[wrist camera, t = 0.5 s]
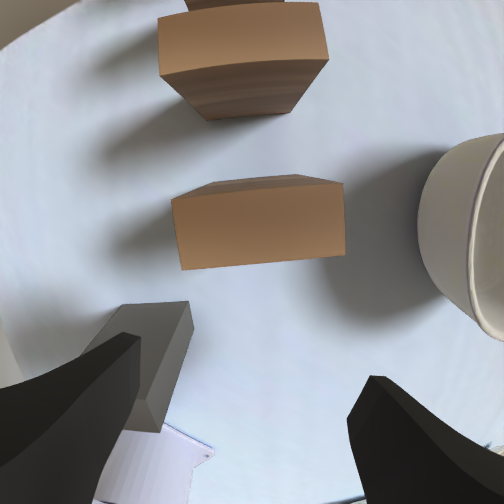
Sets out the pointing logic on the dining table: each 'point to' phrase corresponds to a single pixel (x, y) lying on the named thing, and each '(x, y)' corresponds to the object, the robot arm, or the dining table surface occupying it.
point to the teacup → (467, 229)
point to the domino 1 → (153, 355)
